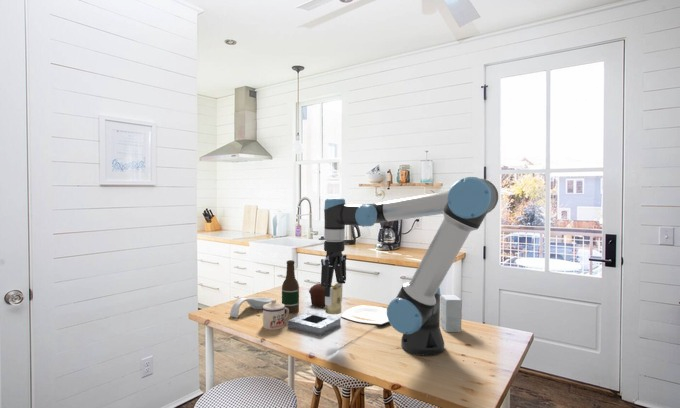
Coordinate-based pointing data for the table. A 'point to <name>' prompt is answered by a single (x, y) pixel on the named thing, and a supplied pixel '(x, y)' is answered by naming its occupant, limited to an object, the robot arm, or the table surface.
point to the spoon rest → (253, 302)
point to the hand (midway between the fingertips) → (333, 302)
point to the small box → (450, 313)
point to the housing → (314, 323)
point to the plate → (367, 314)
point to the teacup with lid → (274, 315)
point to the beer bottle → (290, 289)
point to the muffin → (317, 295)
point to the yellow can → (335, 301)
